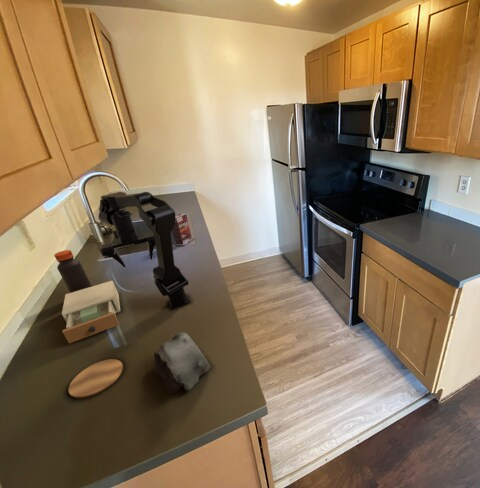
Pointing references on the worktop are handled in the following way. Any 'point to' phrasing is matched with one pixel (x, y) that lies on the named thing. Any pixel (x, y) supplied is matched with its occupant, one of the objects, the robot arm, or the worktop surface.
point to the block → (90, 314)
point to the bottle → (72, 271)
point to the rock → (180, 362)
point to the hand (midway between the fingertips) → (138, 263)
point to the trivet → (95, 378)
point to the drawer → (90, 322)
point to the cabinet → (90, 298)
